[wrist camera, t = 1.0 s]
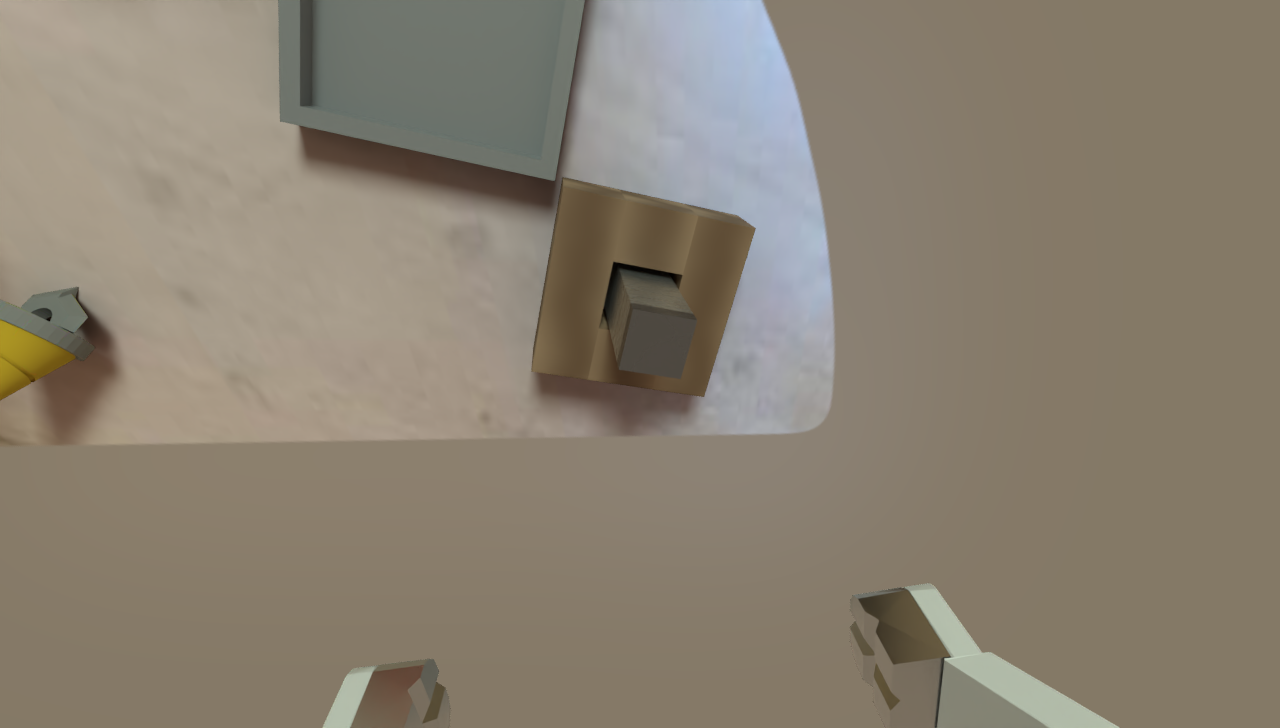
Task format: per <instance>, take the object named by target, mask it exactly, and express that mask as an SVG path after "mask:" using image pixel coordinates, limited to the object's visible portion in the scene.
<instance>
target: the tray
mask: <svg viewBox="0 0 1280 728" xmlns="http://www.w3.org/2000/svg"><path fill="white" fill-rule="evenodd" d="M584 3H585V0H278V8H279V84H280V121H281V122H286V123H290V124H295V125H299V126H304V127H309V128H313V129H318V130H322V131H327V132H332V133H336V134H341V135H345V136H350V137H355V138H359V139H364V140H368V141H373V142H377V143H382V144H387V145H391V146H396V147H400V148H405V149H410V150H414V151H419V152H423V153H428V154H433V155H437V156H442V157H446V158H451V159H455V160H460V161H465V162H469V163H474V164H478V165H483V166H488V167H492V168H497V169H501V170H506V171H511V172H515V173H520V174H524V175H529V176H533V177H538V178H543V179H547V180H552V181H555V177H556V171H557V165H558V159H559V153H560V147H561V141H562V135H563V129H564V123H565V117H566V111H567V105H568V99H569V93H570V87H571V81H572V75H573V69H574V63H575V57H576V51H577V45H578V39H579V33H580V27H581V21H582V15H583V9H584Z"/></svg>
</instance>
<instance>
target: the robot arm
mask: <svg viewBox="0 0 1280 728" xmlns="http://www.w3.org/2000/svg"><path fill="white" fill-rule="evenodd" d="M850 611H851V613H852V615H853V617H854V619H855V622H854V623H853V624H852V625H851V626H850V642H851V647H852V653H853V657H854V660H855V662H856V665H857V668H858V670H859V672H860V675H861V677H862V679H863V680H864V681H865V682H867V683H868V684H870V685H871V686H872V687H873V703H874V705H875V707H876V709H877V711H878V713H879V716H880V718H881V720H882V722H883V724H884V726H885V728H1119V727H1117V726H1116V725H1114V724H1112V723H1111V722H1109V721H1107V720H1105V719H1104V718H1102V717H1100V716H1099V715H1097V714H1095V713H1093V712H1091V711H1090V710H1088V709H1087V708H1085V707H1083V706H1082V705H1080V704H1078V703H1077V702H1075V701H1073V700H1071V699H1070V698H1068V697H1066V696H1065V695H1063V694H1061V693H1059V692H1057V691H1056V690H1054V689H1053V688H1051V687H1049V686H1048V685H1046V684H1044V683H1042V682H1041V681H1039V680H1037V679H1036V678H1034V677H1032V676H1030V675H1029V674H1027V673H1025V672H1024V671H1022V670H1020V669H1019V668H1017V667H1015V666H1013V665H1012V664H1010V663H1008V662H1007V661H1005V660H1003V659H1001V658H1000V657H998V656H996V655H995V654H993V653H991V652H986V653H982V652H981V650H980V649H979V648H978V646H977V645H976V643H975V642H974V641H973V639H972V638H971V636H970V635H969V634H968V632H967V631H966V629H965V628H964V627H963V625H962V624H961V623H960V621H959V620H958V618H957V617H956V616H955V614H954V613H953V611H952V610H951V609H950V607H949V606H948V604H947V603H946V602H945V600H944V599H943V597H942V596H941V595H940V593H939V592H938V591H937V589H936V588H935V587H934V586H933V585H931V584H930V583H928V584H922V585H915V586H909V587H904V588H894V589H888V590H882V591H876V592H869V593H863V594H857V595H852V598H851V600H850ZM438 674H439V670H438V668H437V665H436V663H435V661H434V659H425V660H416V661H407V662H399V663H391V664H383V665H378V666H369V667H362V668H354V669H352V671H350V672H349V673H348V675H347V676H346V677H345V679H344V682H343V684H342V686H341V688H340V690H339V693H338V695H337V697H336V699H335V701H334V703H333V706H332V708H331V710H330V712H329V714H328V717H327V719H326V721H325V723H324V725H323V728H449V726H450V703H449V696H448V694H447V691H446V688H445V687H444V686H442V685H441V684H439V683H437V682H436V681H437V677H438Z"/></svg>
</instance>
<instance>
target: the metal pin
mask: <svg viewBox="0 0 1280 728" xmlns="http://www.w3.org/2000/svg"><path fill="white" fill-rule="evenodd" d="M604 307H605V312H606V316H607V320H608V325H609V329H610V334H611V338H612V342H613V347H614V351H615V356H616V360H617V364H618V369H619V370H624V371H631V372H637V373H644V374H651V375H657V376H664V377H670V378H677V379H681V376H682V373H683V369H684V366H685V362H686V359H687V355H688V352H689V348H690V345H691V341H692V338H693V334H694V331H695V327H696V324H697V319H696V317H695V316H694V314H693V312H692V311H691V309H690V307H689V306H688V304H687V303H686V301H685V299H684V298H683V296H682V294H681V293H680V291H679V289H678V288H677V286H676V285H675V283H674V281H673V280H672V278H671V276H670V275H669V273H668V272H665V271H660V270H655V269H650V268H644V267H639V266H634V265H629V264H624V263H619V262H613V265H612V270H611V275H610V279H609V284H608V288H607V293H606V298H605V302H604Z"/></svg>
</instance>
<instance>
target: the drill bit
mask: <svg viewBox="0 0 1280 728" xmlns="http://www.w3.org/2000/svg"><path fill="white" fill-rule="evenodd" d="M77 291H78V287H75V288H69V289H64V290H58V291H53V292H47V293H42V294H36V295H33V296H32V297H31V298H30V299H29V300H28V301H27V302H26V303H25V304H24V305H23V306H22V307H21V308H19V307H17V306H15V305H12V304H10V303H7V302H5V301H2V300H0V400H2V399H3V398H5V397H7V396H9V395H11V394H12V393H14V392H16V391H18V390H20V389H21V388H23V387H25V386H27V385H29V384H30V383H31V382H34V381H36V380H38V379H39V378H41V377H43V376H45V375H47V374H49V373H50V372H52V371H54V370H56V369H58V368H59V367H61V366H63V365H65V364H67V363H68V362H70V361H72V360H74V359H77V360H81V361H84V360H85V359H86V358H87V357H88V355H89V354H90V353H91V352H92V351H93V350H94V349H95V347H94V346H92V345H91V344H90V343H88V342H86V341H85V340H83V339H81V338H80V337H78V336H76V335H74V334H72V333H74V332H75V331H76V330H77V329H78V328H79V327H80V326H81V325H82V324H83V323H84V321H85V320H86V319H87V318H88V316H87V315H86V313H85V312H84V311H83V309H82V308H81V306H80V305H79V303H78V302H77V301H76V299H75V298H76V295H77ZM51 316H52V318H51V320H50V322H49V321H47V320H45V319H47V318H49V317H51Z"/></svg>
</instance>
